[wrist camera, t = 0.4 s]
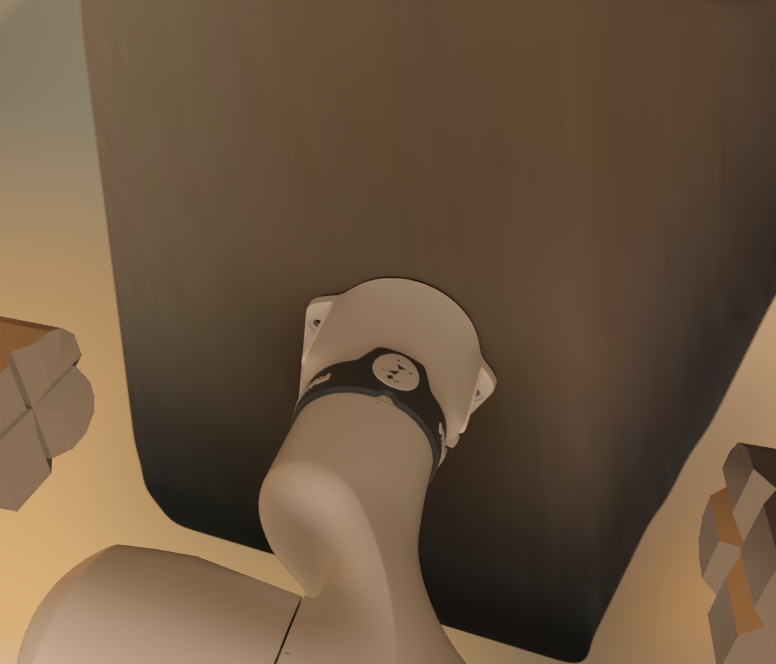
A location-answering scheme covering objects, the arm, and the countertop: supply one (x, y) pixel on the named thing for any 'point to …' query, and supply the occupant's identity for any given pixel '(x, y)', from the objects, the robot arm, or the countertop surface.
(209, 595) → the robot arm
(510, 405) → the countertop surface
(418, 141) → the countertop surface
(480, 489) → the countertop surface
